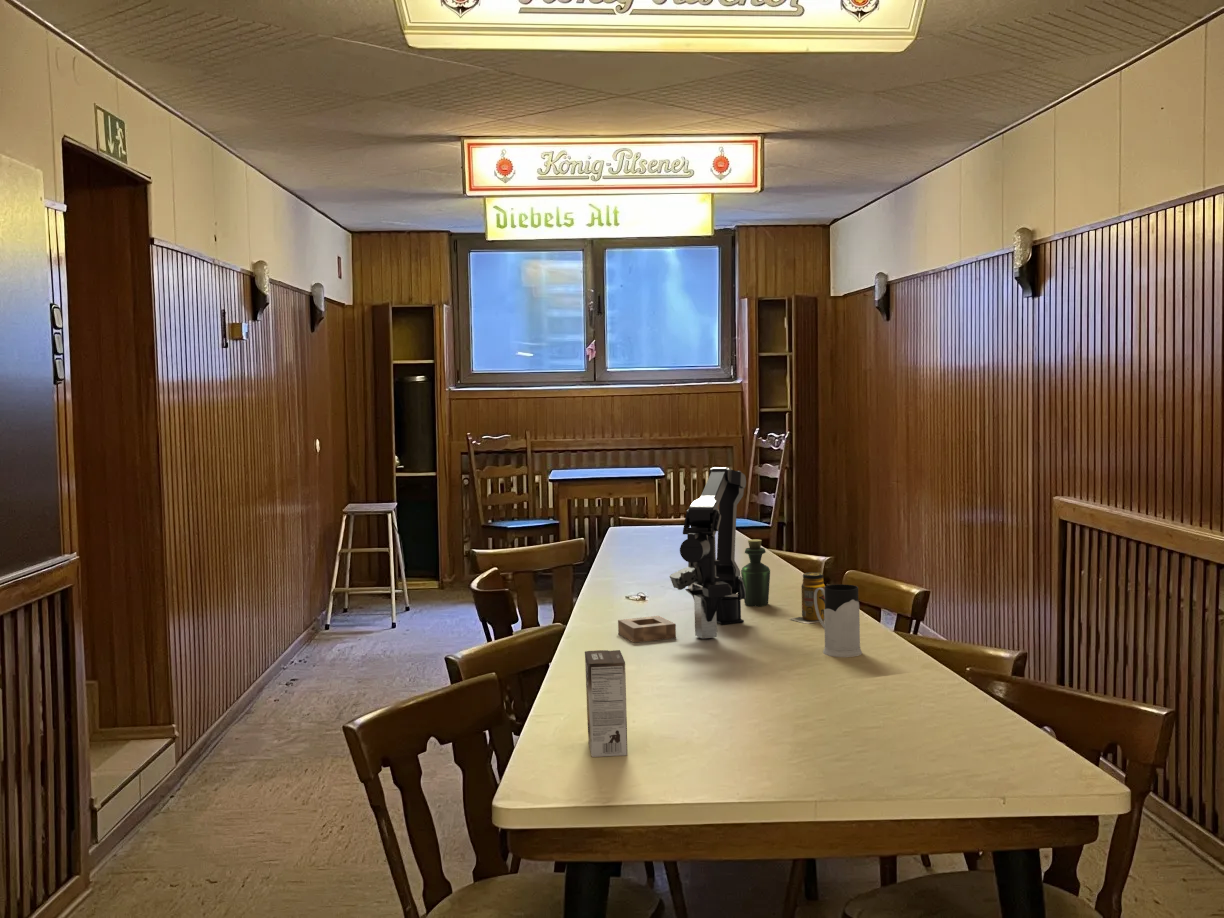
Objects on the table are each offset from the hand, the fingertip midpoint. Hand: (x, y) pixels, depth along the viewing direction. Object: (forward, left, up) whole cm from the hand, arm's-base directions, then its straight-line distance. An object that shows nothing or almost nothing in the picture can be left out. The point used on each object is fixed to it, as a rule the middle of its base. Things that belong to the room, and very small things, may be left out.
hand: (705, 619), depth 277 cm
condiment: (-33, -7, -5) cm, 34 cm away
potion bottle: (-30, -32, -5) cm, 44 cm away
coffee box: (+50, +69, -5) cm, 86 cm away
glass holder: (-21, +25, -5) cm, 33 cm away
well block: (+12, -9, -4) cm, 16 cm away
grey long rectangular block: (0, 0, -4) cm, 4 cm away
